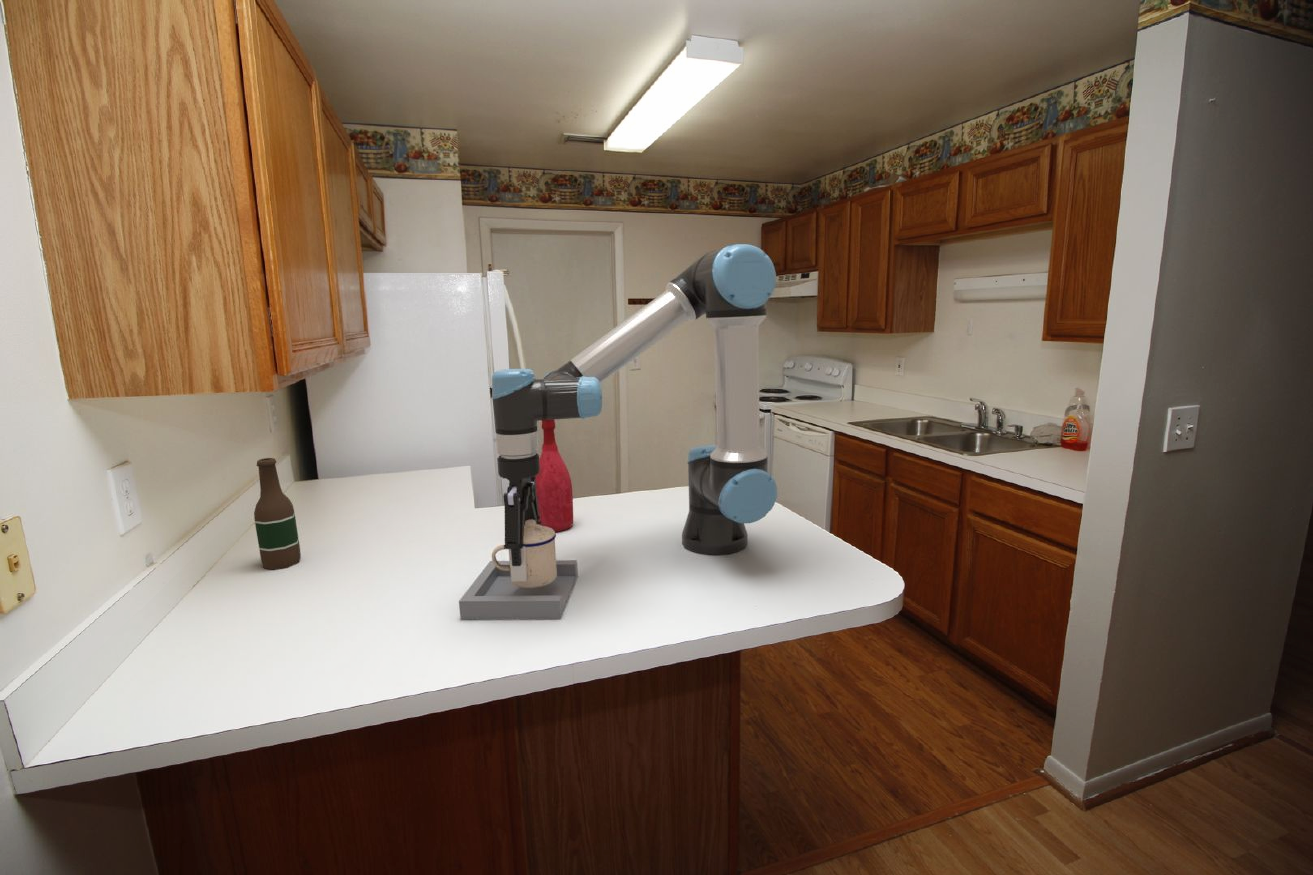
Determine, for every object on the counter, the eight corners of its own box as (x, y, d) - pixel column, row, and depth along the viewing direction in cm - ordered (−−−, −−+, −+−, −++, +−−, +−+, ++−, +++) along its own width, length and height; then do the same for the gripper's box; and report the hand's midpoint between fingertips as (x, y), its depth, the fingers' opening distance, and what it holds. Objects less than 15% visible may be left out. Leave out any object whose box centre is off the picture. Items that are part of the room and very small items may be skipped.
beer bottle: (307, 562, 137) (291, 458, 132) (267, 573, 131) (250, 465, 127) (295, 553, 142) (280, 453, 137) (257, 564, 137) (240, 460, 132)
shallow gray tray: (577, 576, 126) (576, 560, 125) (560, 618, 108) (559, 600, 107) (491, 576, 127) (490, 560, 126) (460, 619, 109) (458, 601, 108)
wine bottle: (566, 534, 150) (559, 414, 144) (529, 532, 152) (520, 413, 146) (579, 521, 159) (573, 407, 153) (543, 519, 161) (536, 407, 155)
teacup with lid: (557, 567, 122) (553, 511, 120) (559, 586, 113) (556, 526, 111) (495, 573, 119) (490, 516, 117) (492, 593, 111) (487, 532, 108)
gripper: (513, 442, 123) (521, 548, 127) (478, 469, 101) (489, 595, 106) (551, 441, 122) (557, 548, 127) (523, 468, 101) (531, 595, 105)
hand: (526, 569), depth 116 cm, fingers closed on teacup with lid, 9 cm apart
